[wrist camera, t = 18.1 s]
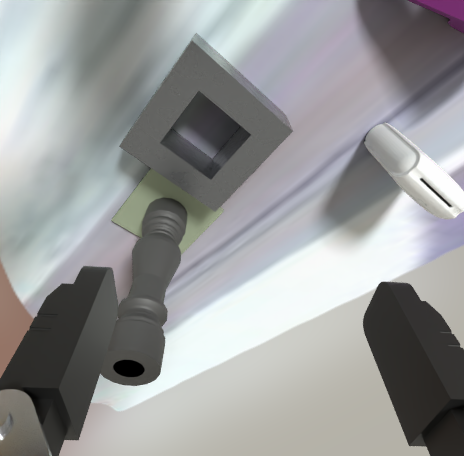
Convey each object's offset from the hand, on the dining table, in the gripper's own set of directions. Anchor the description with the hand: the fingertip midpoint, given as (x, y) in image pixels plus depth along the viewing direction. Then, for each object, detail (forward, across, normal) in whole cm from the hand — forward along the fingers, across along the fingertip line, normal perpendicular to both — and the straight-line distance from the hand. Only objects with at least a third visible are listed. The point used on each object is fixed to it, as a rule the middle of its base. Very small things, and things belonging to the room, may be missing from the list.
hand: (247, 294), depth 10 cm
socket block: (+36, -2, -7) cm, 37 cm away
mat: (+36, -8, -22) cm, 43 cm away
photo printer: (+36, +23, -9) cm, 44 cm away
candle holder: (+36, -8, -21) cm, 42 cm away
